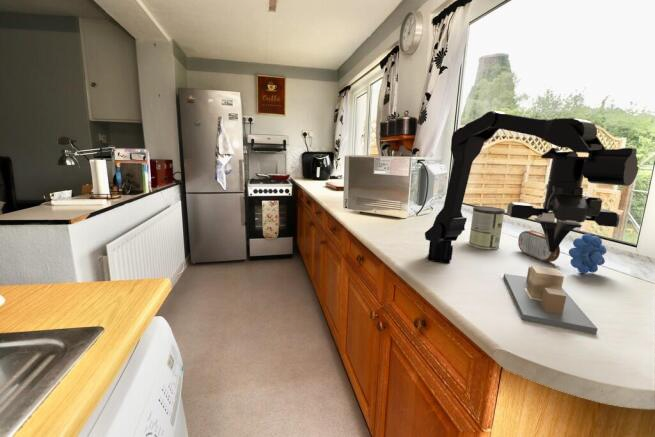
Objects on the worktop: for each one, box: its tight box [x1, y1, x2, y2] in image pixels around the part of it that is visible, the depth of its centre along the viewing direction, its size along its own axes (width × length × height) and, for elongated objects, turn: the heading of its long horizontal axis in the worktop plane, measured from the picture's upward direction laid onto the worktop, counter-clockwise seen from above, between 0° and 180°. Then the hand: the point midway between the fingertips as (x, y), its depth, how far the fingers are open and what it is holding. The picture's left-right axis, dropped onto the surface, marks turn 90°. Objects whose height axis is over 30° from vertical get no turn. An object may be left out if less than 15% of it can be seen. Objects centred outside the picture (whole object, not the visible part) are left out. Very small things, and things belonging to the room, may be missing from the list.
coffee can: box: [468, 205, 506, 251], centre depth 113 cm, size 10×10×14 cm
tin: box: [517, 229, 561, 263], centre depth 102 cm, size 15×3×8 cm, turn 7°
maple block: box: [527, 265, 565, 300], centre depth 69 cm, size 5×5×6 cm
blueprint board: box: [503, 266, 598, 335], centre depth 70 cm, size 12×24×5 cm, turn 159°
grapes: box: [568, 233, 607, 274], centre depth 87 cm, size 12×7×12 cm, turn 99°
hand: (551, 251), depth 68 cm, fingers closed
